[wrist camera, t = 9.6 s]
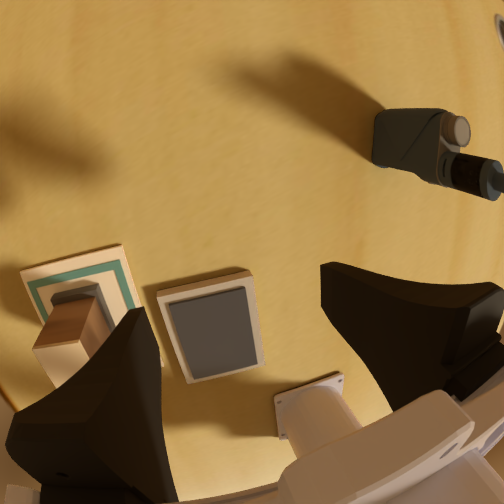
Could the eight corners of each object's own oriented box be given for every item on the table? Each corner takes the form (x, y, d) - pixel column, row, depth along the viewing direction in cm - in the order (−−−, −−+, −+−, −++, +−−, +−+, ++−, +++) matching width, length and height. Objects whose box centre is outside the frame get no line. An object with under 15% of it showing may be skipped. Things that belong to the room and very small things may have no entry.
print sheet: (164, 364, 23) (164, 367, 23) (74, 378, 22) (73, 381, 21) (122, 244, 19) (121, 246, 19) (20, 270, 17) (18, 272, 17)
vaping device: (368, 169, 22) (495, 205, 11) (374, 106, 20) (504, 107, 9) (392, 172, 23) (512, 209, 12) (397, 113, 21) (521, 121, 10)
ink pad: (262, 358, 26) (266, 367, 25) (186, 376, 24) (188, 386, 23) (249, 270, 22) (253, 277, 21) (156, 290, 21) (156, 299, 20)
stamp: (120, 338, 21) (112, 396, 16) (78, 345, 20) (62, 401, 15) (98, 283, 19) (78, 334, 14) (54, 293, 18) (25, 343, 13)
